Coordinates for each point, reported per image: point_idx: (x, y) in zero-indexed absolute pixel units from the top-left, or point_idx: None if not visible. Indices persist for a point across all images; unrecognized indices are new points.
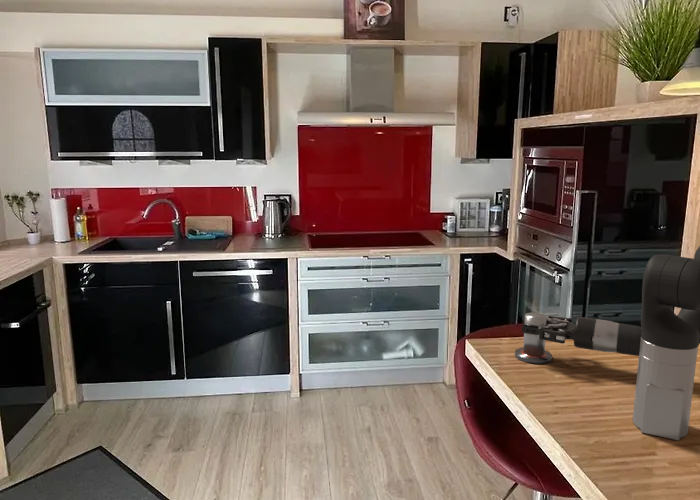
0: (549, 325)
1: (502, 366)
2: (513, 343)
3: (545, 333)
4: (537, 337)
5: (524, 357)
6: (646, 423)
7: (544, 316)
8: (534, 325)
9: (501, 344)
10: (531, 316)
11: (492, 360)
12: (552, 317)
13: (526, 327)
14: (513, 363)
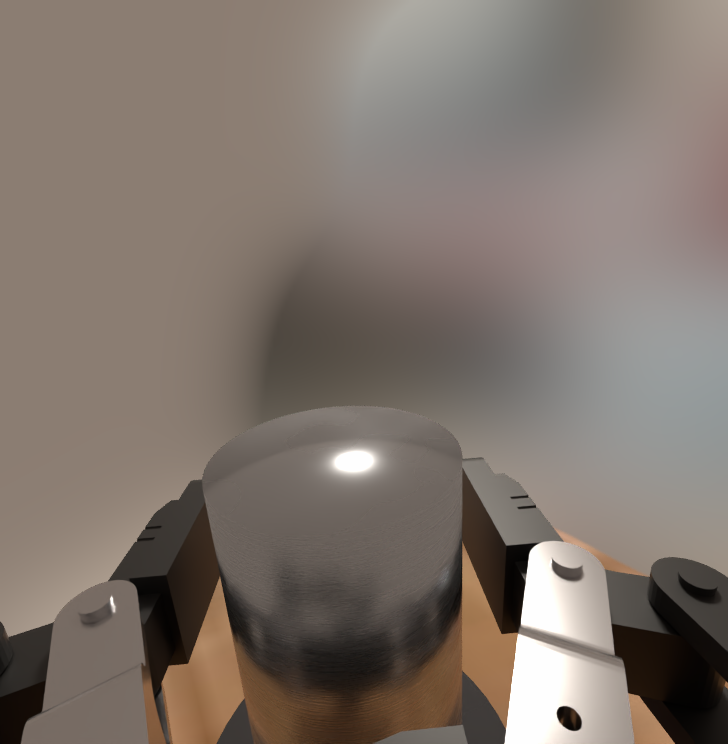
0: (63, 703)
1: None
2: None
3: (348, 740)
4: (243, 691)
5: (233, 734)
6: None
7: (344, 511)
8: (173, 543)
9: (467, 553)
10: (280, 440)
11: (215, 588)
12: (697, 619)
13: (155, 516)
14: (192, 697)
